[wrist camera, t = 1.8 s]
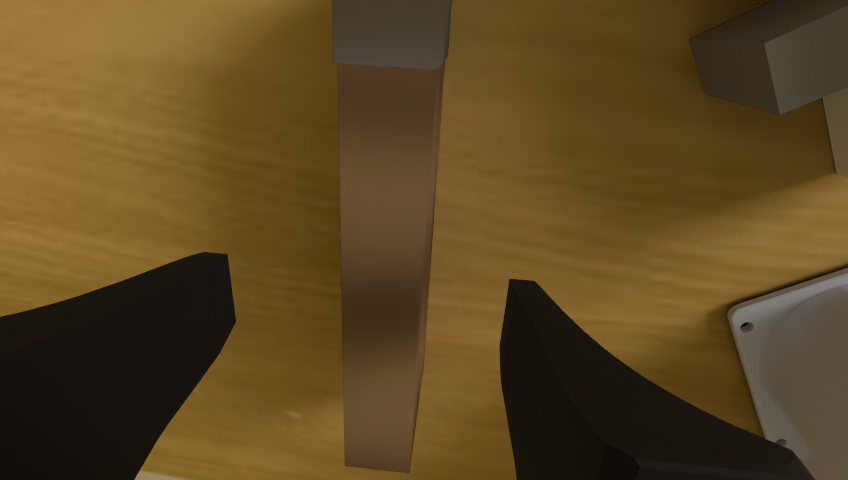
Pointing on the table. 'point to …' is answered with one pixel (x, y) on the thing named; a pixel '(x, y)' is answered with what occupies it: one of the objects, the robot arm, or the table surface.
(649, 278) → the table surface
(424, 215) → the rail
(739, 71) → the cream rectangular block
